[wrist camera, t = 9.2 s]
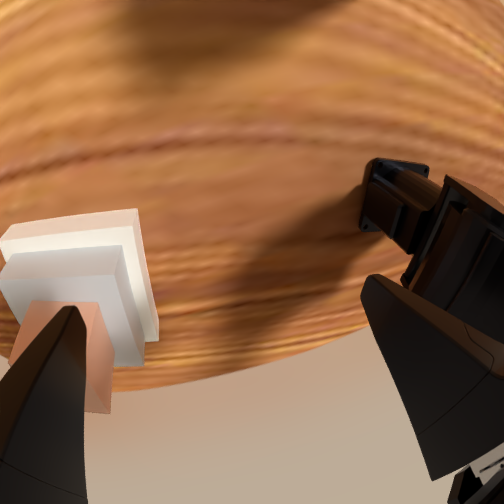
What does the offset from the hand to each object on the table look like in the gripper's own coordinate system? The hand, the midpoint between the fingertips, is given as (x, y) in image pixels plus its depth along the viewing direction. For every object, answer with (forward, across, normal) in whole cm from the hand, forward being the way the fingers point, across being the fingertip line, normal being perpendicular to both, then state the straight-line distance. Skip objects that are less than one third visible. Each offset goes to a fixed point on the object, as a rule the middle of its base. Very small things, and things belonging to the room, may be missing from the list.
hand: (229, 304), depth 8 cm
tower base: (+13, +10, +8) cm, 18 cm away
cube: (+7, +10, +8) cm, 14 cm away
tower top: (+10, +10, +8) cm, 16 cm away
